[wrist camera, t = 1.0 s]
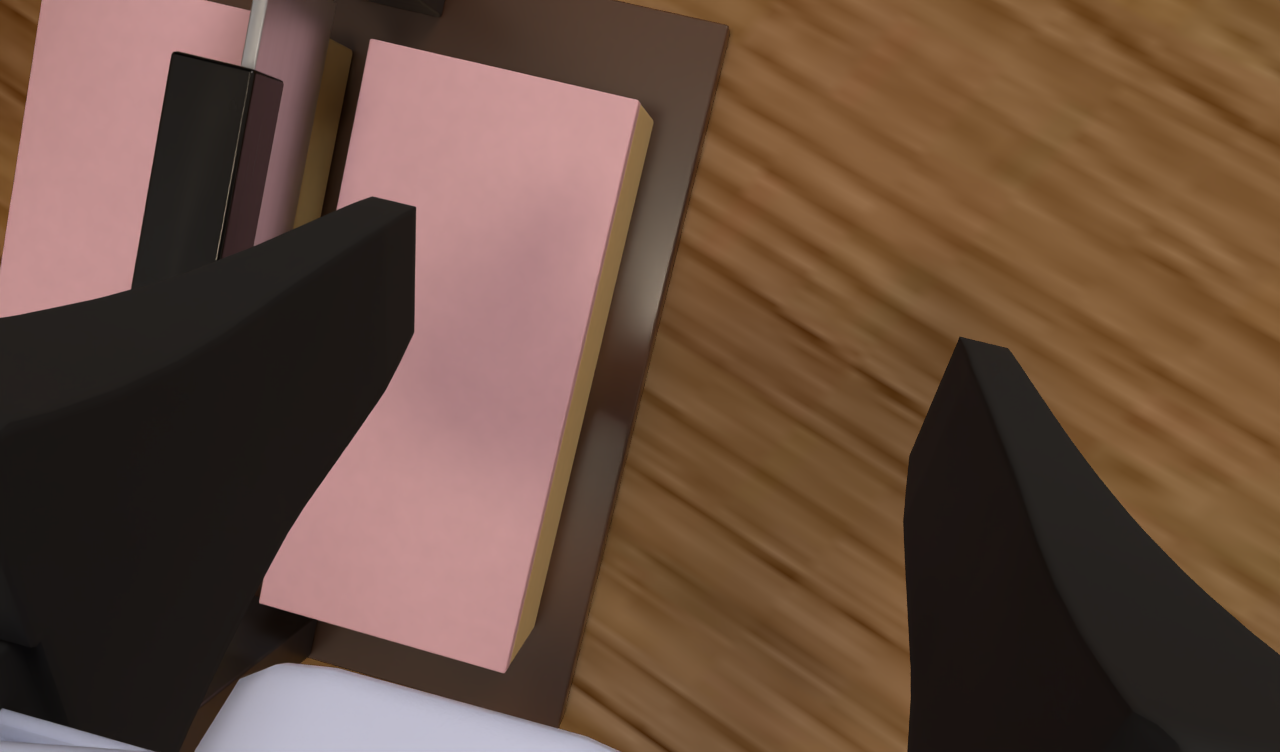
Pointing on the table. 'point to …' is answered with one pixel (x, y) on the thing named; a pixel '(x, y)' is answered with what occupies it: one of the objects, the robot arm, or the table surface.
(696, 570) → the table surface
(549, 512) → the pink sponge pad
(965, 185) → the table surface
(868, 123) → the table surface
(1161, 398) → the table surface
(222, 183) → the knife
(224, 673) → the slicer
